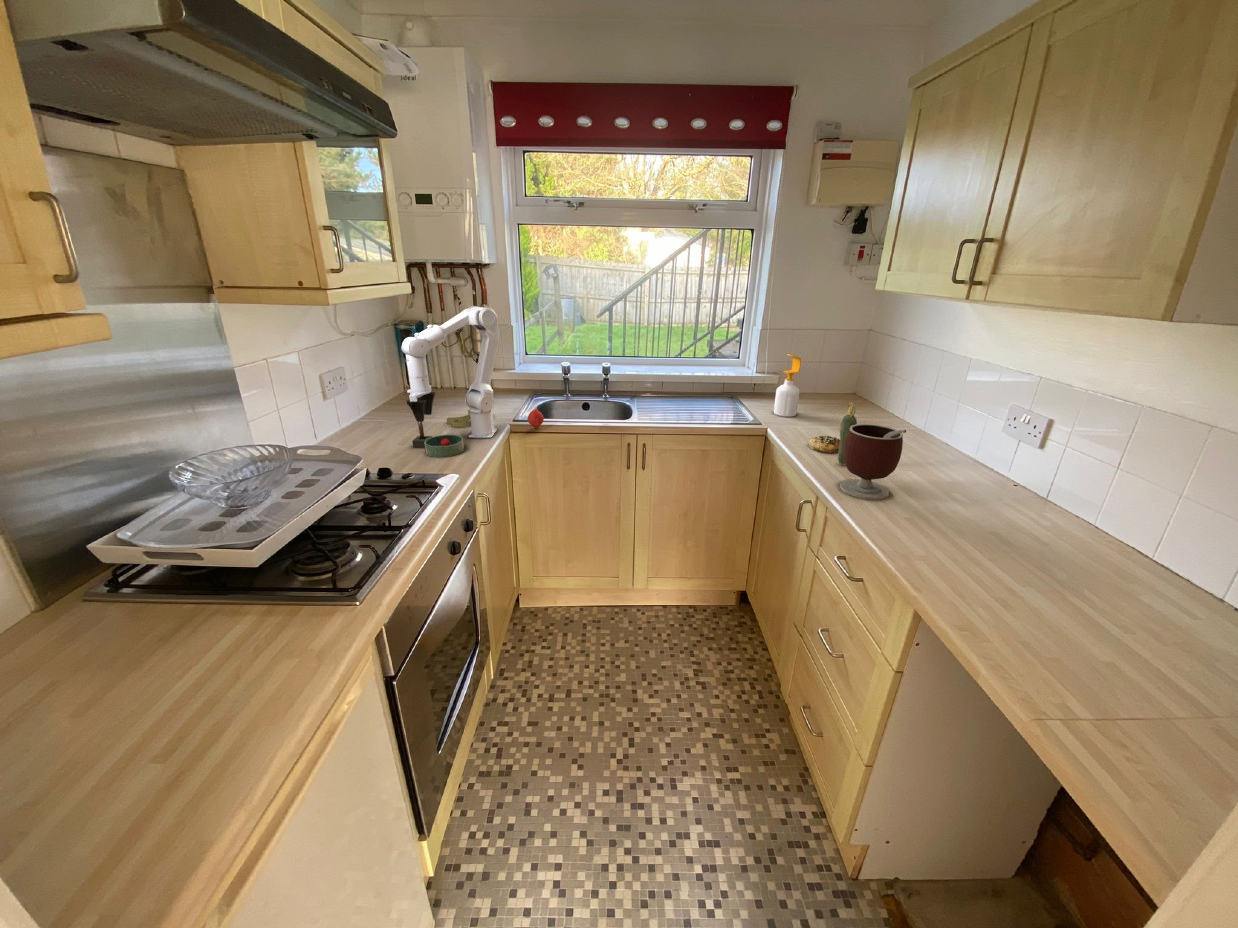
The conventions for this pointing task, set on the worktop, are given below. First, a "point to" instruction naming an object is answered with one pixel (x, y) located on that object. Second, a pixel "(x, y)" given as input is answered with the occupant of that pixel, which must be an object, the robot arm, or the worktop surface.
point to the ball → (445, 442)
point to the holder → (419, 442)
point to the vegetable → (846, 430)
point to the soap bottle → (788, 392)
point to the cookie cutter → (460, 421)
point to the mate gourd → (871, 458)
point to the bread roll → (825, 444)
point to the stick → (421, 430)
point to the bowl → (437, 450)
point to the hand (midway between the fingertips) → (424, 417)
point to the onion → (535, 418)
